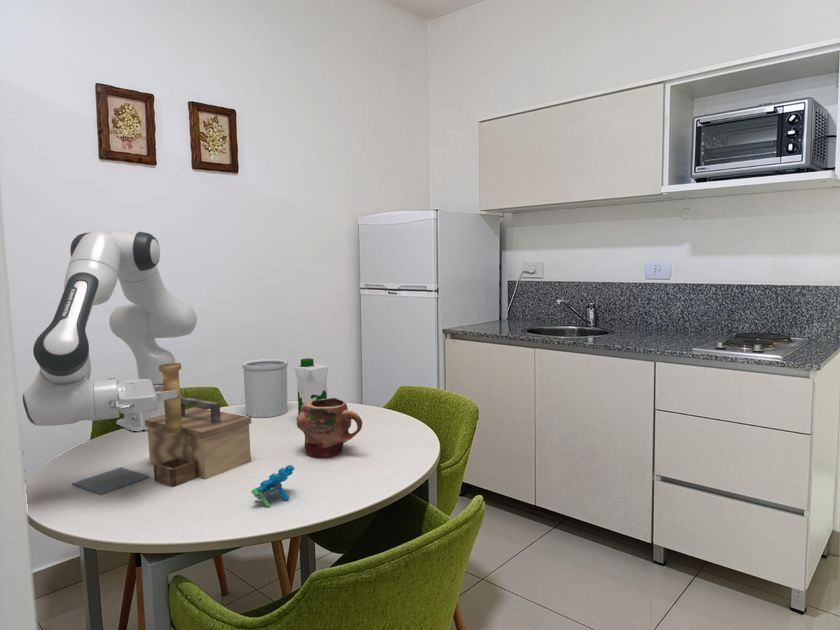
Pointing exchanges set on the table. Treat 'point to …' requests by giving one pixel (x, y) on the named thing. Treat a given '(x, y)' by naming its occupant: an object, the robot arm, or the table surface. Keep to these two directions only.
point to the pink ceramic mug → (326, 426)
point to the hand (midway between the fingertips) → (175, 391)
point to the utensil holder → (265, 387)
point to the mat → (110, 480)
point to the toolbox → (198, 443)
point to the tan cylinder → (172, 405)
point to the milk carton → (310, 382)
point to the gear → (273, 485)
